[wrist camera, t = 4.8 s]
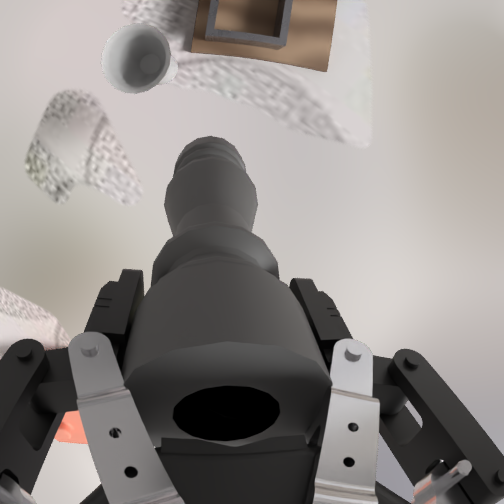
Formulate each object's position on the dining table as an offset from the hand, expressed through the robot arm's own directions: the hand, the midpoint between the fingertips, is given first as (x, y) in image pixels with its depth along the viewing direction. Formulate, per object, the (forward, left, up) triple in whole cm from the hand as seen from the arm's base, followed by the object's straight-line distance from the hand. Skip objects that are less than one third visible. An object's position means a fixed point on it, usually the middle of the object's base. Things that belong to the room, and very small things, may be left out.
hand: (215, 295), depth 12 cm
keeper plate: (-20, +6, -39) cm, 45 cm away
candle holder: (0, 0, -20) cm, 20 cm away
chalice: (-10, -8, -40) cm, 42 cm away
